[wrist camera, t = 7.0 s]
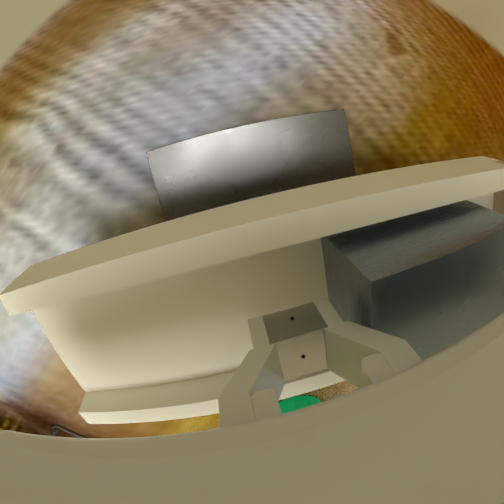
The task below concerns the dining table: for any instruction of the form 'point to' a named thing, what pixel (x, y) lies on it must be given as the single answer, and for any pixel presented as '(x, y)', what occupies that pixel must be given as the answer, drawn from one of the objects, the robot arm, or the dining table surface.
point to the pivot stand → (251, 162)
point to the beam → (214, 286)
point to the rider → (420, 274)
